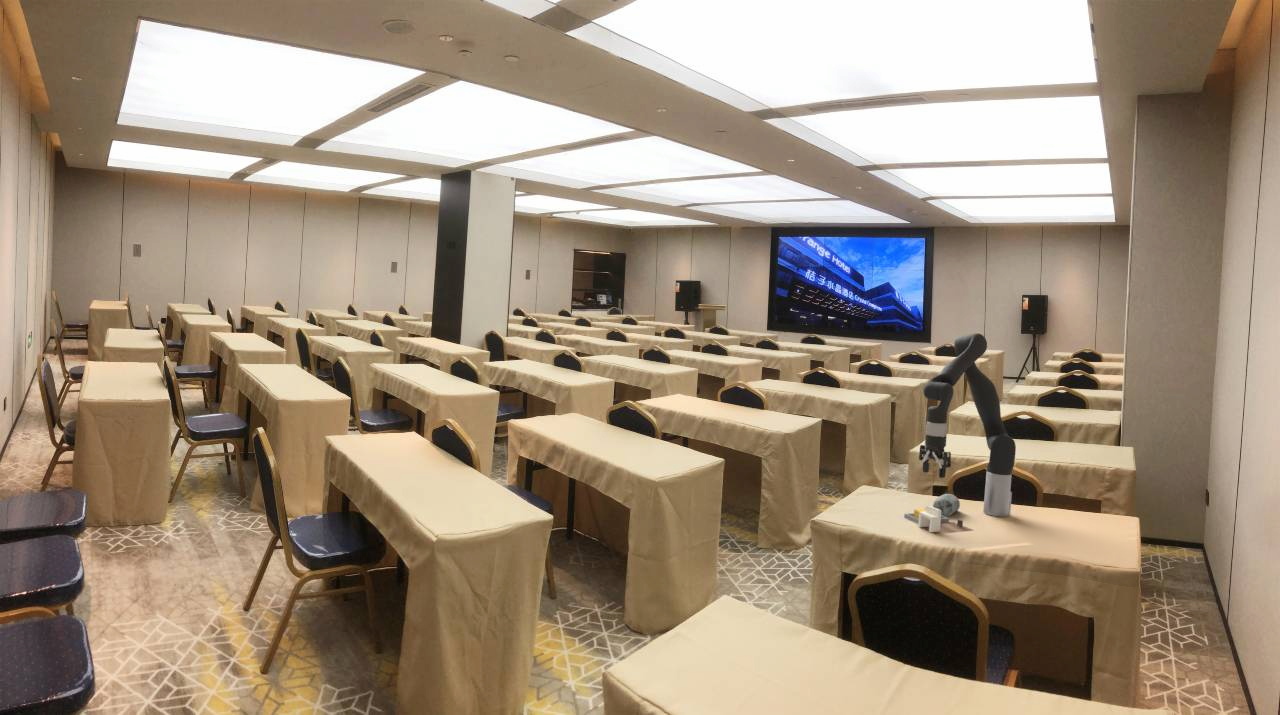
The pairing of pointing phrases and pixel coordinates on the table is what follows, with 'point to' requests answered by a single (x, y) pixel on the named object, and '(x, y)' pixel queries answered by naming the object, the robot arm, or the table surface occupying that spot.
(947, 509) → the streaked grey-blue ovoid
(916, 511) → the yellow rectangular block
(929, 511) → the white stepped block
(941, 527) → the clamp board
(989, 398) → the robot arm
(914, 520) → the tray
